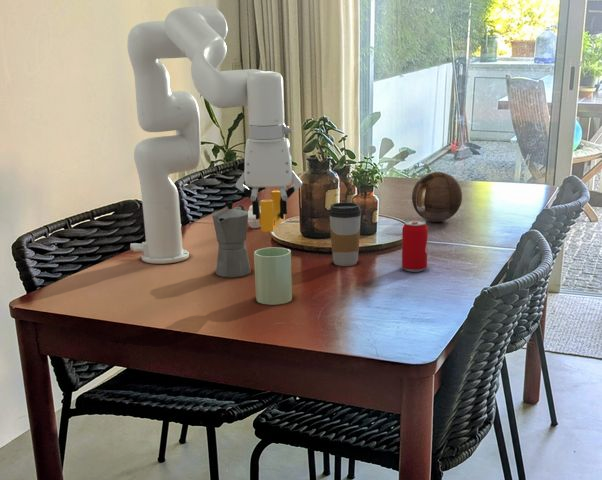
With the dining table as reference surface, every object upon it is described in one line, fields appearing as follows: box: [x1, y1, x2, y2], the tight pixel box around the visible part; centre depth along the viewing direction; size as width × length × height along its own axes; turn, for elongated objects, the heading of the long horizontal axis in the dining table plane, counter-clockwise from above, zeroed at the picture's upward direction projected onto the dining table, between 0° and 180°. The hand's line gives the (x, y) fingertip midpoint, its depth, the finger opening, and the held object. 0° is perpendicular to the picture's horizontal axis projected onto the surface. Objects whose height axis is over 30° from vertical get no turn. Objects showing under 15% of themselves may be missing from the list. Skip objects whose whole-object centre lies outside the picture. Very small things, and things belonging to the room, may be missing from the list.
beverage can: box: [401, 219, 429, 273], centre depth 214 cm, size 6×6×12 cm
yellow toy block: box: [259, 189, 286, 233], centre depth 189 cm, size 12×4×6 cm, turn 169°
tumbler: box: [253, 246, 293, 306], centre depth 194 cm, size 8×8×11 cm
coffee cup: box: [328, 201, 362, 267], centre depth 220 cm, size 8×8×15 cm
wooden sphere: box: [411, 171, 463, 223], centre depth 261 cm, size 15×15×15 cm
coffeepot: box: [211, 200, 252, 278], centre depth 215 cm, size 15×9×18 cm, turn 163°
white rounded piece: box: [247, 204, 261, 229], centre depth 261 cm, size 6×6×7 cm
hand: (270, 217), depth 189 cm, fingers closed on yellow toy block, 4 cm apart
